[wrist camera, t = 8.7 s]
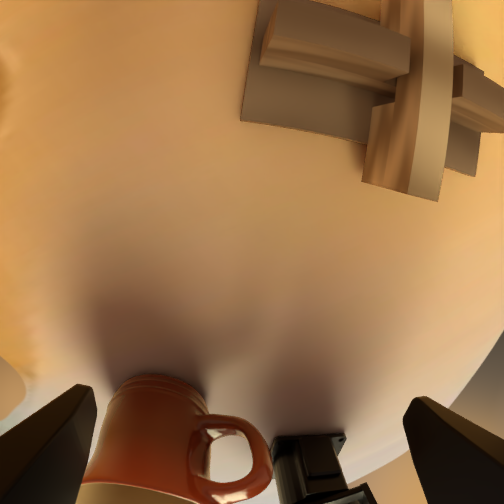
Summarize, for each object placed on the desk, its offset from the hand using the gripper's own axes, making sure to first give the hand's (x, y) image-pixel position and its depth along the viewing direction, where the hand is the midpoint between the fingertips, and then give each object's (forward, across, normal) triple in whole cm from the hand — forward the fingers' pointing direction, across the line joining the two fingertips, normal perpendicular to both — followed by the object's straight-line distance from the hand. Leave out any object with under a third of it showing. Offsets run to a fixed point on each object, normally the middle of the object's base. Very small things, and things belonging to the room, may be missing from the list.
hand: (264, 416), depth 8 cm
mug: (+12, +3, +11) cm, 17 cm away
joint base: (+12, -7, -12) cm, 18 cm away
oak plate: (+11, -7, -12) cm, 18 cm away
